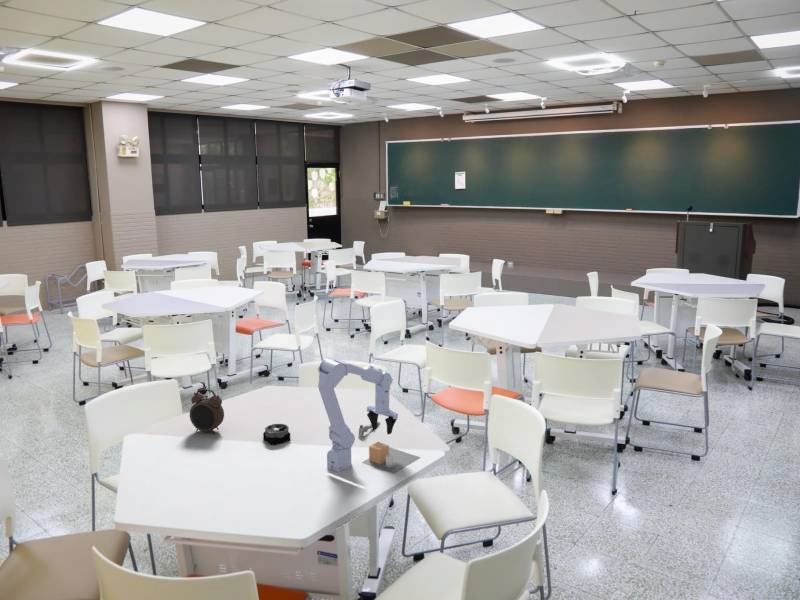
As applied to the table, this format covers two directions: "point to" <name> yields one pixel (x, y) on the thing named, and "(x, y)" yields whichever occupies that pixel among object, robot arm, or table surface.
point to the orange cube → (378, 452)
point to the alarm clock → (206, 411)
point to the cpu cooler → (276, 434)
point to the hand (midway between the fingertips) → (382, 431)
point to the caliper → (365, 429)
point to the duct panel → (394, 461)
